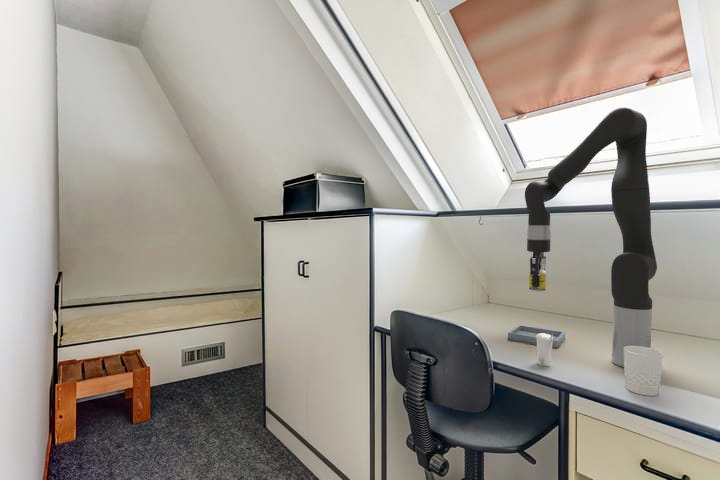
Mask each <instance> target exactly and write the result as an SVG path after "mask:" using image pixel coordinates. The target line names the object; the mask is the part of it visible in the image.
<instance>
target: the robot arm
mask: <svg viewBox="0 0 720 480" xmlns="http://www.w3.org/2000/svg"><path fill="white" fill-rule="evenodd" d="M647 132H648V122H647V119H646V116H644V114H643V113H641V112H640V111H637V110H635V109H632V108H630V107H618V108H615V109H613V110H612V111H610V112H609V113H608V114H607V115H606V116H604V117H603V119H602V120H601V121H600V122H599V123H598V124H597V125H596V127H595V128H594V129H593V130H591V132H589V134H588V135H587V136H586V137H585V139H584V140H583V141H581V142H580V144H578V146H576V148H575V149H573V150H572V152H570V153H569V154H567V156H565V157H564V158H563V159H561V161H559V162H558V163H557V164H556V165H555V166H554V167H552V168H551V169H550V170H549V171H548V174H547V178H546V179H545V180H543V181H538V180H537V181H536V180H535V181H532V182H531V181H530V183H528V184H527V186H525V187H526V188H525V191H524V201H525V204H526V209H527V212H528V218H527V219H528V223H527V224H528V226H527V232H526V235H527V236H526V237H527V238H526V239H527V240H526V251H527V252H531V253H532V257H530V258H529V265H530V266H529V275H530V274H531V275H532V286H533V287H539V280H540V277H539V276H540V271H541V270H542V265H543V264H544V268H543V270H545V271H546V263H547V262H546V261H547V257H546V255H544V253H550V252H551V238H552V237H551V236H552V235H551V212H550V210H549V209H547V208H546V207H545V206H546V205H545V203H547V202H549V201H551V200H552V199H554V198H555V197H556V196H557V195H558V194H559V193H560V192H561V190H563V188H564V187H565V186H566V185H567V184H569V183H570V182H571V181H573V180H574V179H575V178H576V177H578V176H579V175H581V173H583V171H584V170H585V169H586V168H587V167H588V166H589V164H590V163H591V162H592V160H593V159H594V158H595V157H596V155H598V154H599V153H600V152H601V151H602V150H604V149H605V148H607V147H608V146H610V145H612V144H613V143H614V142H615V145H616V146H615V147H616V153H617V163H616V168H615V171H614V174H613V177H612V181H611V186H610V187H611V191H610V193H611V205H612V206H611V207H612V211H613V214H614V217H615V220H616V222H617V225H618V227H619V229H620V232H621V235H622V236H621V237H622V247H623V248H622V253H620V254H619V255H617V256H616V257H615V258H614V260H613V261H612V264H611V271H610V273H611V275H610V276H611V277H610V280H611V283H610V285H611V297H612V298H613V314H612V315H613V316H612V345H611V346H612V347H611V350H612V351H611V352H612V353H611V361H612V363H613V364H615V365H616V366H619V367H621V368H624V347H625V346H641V347H647V348H652V321H653V317H652V315H653V299H652V298H651V297H650V294H649V281H650V280H652V279H653V278H654V277H655V275H656V273H657V270H658V265H657V258H656V253H655V248H654V244H653V239H652V216H651V193H650V183H649V174H648V173H649V172H648V163H647V155H646V154H647V153H646V151H647V134H648V133H647ZM534 270H536V271H534Z"/></svg>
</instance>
